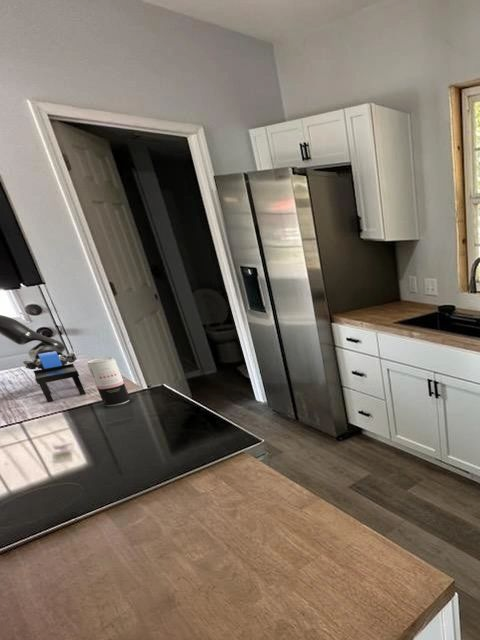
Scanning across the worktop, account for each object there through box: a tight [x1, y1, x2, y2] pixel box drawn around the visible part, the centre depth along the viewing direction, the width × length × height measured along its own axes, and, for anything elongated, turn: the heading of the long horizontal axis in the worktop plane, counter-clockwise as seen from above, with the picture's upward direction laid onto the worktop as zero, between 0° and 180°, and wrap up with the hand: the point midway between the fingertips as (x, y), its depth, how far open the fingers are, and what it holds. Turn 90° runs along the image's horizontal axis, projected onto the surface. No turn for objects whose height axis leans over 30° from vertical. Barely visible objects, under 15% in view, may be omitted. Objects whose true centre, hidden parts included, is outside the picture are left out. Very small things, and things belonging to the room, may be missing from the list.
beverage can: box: [87, 356, 131, 407], centre depth 135 cm, size 7×7×15 cm
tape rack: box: [33, 363, 87, 403], centre depth 145 cm, size 14×10×9 cm
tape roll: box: [38, 351, 62, 369], centre depth 152 cm, size 5×10×10 cm, turn 50°
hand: (52, 364), depth 149 cm, fingers closed on tape roll, 4 cm apart
